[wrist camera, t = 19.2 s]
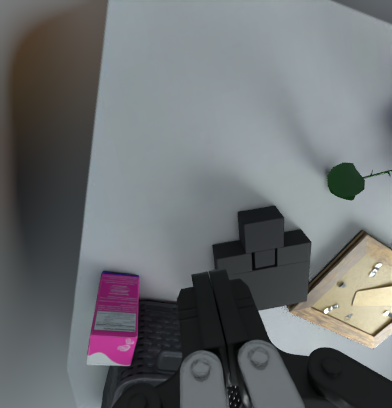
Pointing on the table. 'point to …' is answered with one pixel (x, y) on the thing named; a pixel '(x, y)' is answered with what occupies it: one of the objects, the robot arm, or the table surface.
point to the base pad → (270, 270)
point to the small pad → (261, 234)
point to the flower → (347, 181)
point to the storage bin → (153, 354)
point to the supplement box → (114, 321)
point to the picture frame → (353, 293)
